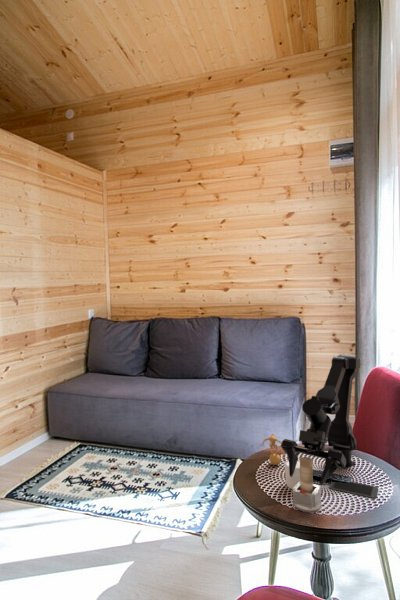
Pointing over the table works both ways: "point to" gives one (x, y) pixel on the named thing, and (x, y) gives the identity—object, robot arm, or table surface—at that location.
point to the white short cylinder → (296, 476)
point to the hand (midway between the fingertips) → (305, 480)
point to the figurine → (274, 456)
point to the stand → (307, 499)
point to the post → (306, 474)
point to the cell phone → (355, 489)
